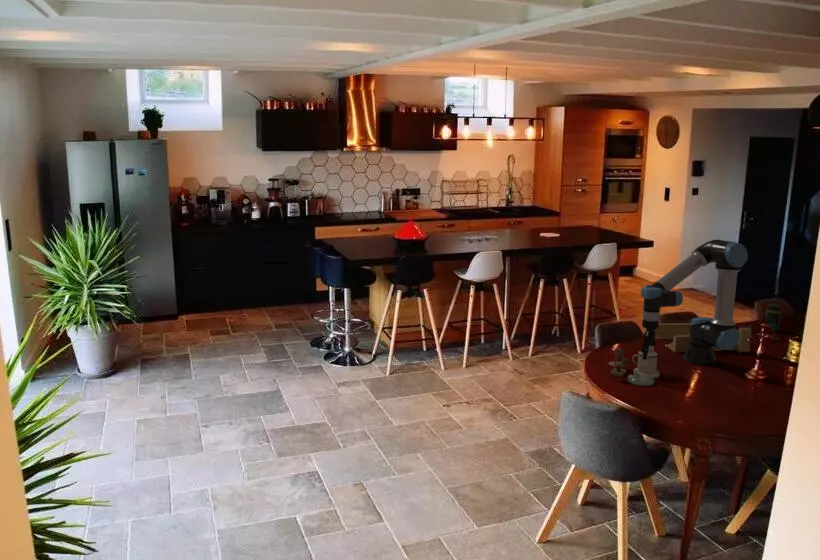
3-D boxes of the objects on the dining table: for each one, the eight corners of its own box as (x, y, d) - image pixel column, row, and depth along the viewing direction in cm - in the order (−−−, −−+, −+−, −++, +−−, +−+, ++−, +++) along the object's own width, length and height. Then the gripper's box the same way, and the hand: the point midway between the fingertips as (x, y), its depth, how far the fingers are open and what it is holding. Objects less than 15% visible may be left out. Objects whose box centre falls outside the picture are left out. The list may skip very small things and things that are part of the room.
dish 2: (656, 380, 327) (656, 377, 327) (651, 387, 317) (651, 384, 316) (630, 376, 333) (630, 373, 332) (624, 382, 322) (625, 379, 322)
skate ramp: (711, 338, 409) (713, 311, 406) (748, 355, 374) (752, 326, 371) (648, 339, 402) (650, 312, 400) (680, 357, 368) (683, 327, 365)
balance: (617, 367, 347) (619, 340, 344) (629, 369, 344) (631, 342, 341) (606, 378, 328) (608, 350, 326) (619, 380, 325) (621, 352, 323)
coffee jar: (777, 336, 413) (781, 306, 410) (763, 334, 418) (766, 304, 414) (779, 333, 421) (783, 303, 418) (765, 331, 426) (768, 301, 422)
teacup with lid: (659, 370, 336) (660, 347, 334) (652, 375, 329) (654, 351, 327) (634, 366, 344) (636, 343, 342) (628, 370, 337) (630, 347, 334)
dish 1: (661, 373, 338) (661, 370, 338) (656, 379, 328) (657, 376, 327) (636, 369, 344) (636, 366, 344) (631, 375, 334) (631, 372, 333)
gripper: (647, 313, 343) (644, 354, 347) (637, 323, 322) (633, 367, 326) (663, 315, 340) (660, 357, 343) (653, 325, 318) (650, 369, 322)
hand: (647, 362), depth 335 cm, fingers open, 13 cm apart
